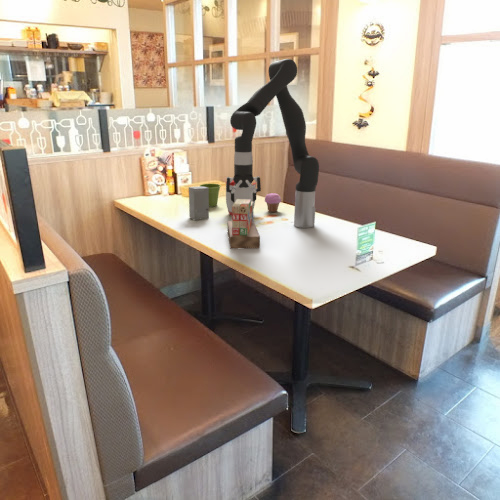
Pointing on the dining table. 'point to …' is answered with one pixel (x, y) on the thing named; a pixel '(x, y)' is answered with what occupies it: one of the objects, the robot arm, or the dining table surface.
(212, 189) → the plant pot
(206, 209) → the skincare box
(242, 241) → the walnut block
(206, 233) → the dining table surface
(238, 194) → the citrus juicer
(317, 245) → the dining table surface
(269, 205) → the cupcake
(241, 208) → the stack of blocks
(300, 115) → the robot arm
